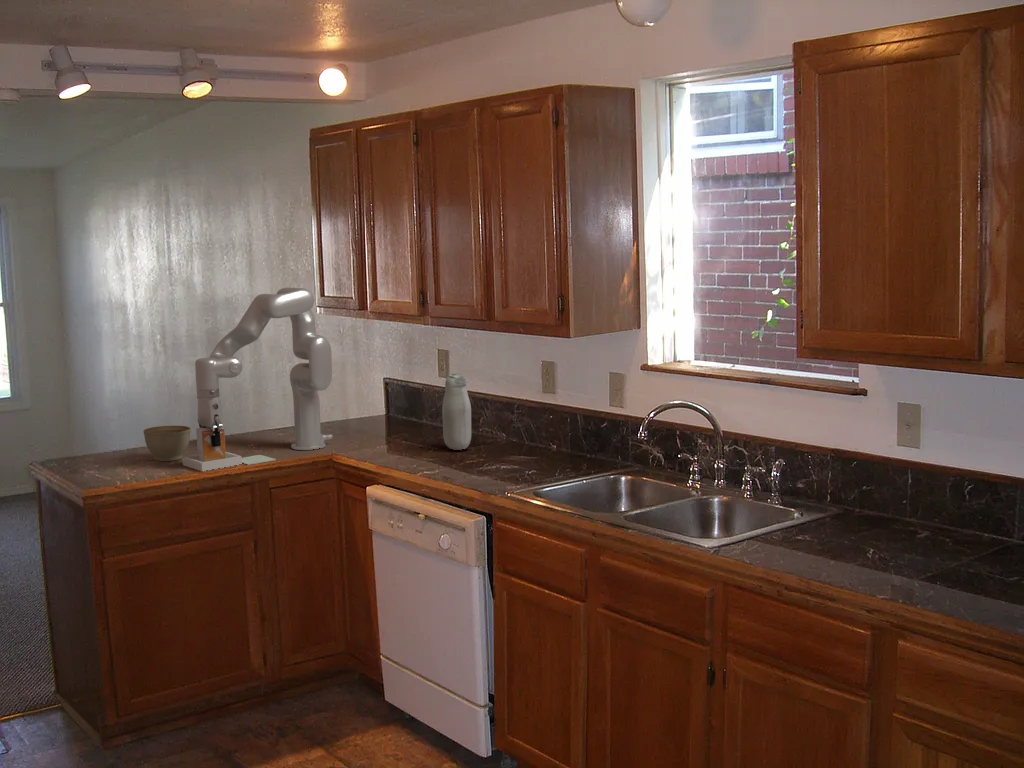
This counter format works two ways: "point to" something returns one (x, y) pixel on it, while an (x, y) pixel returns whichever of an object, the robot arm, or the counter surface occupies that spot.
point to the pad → (256, 459)
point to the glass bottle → (456, 413)
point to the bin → (211, 462)
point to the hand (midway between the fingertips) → (211, 444)
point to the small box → (209, 445)
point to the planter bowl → (167, 441)
